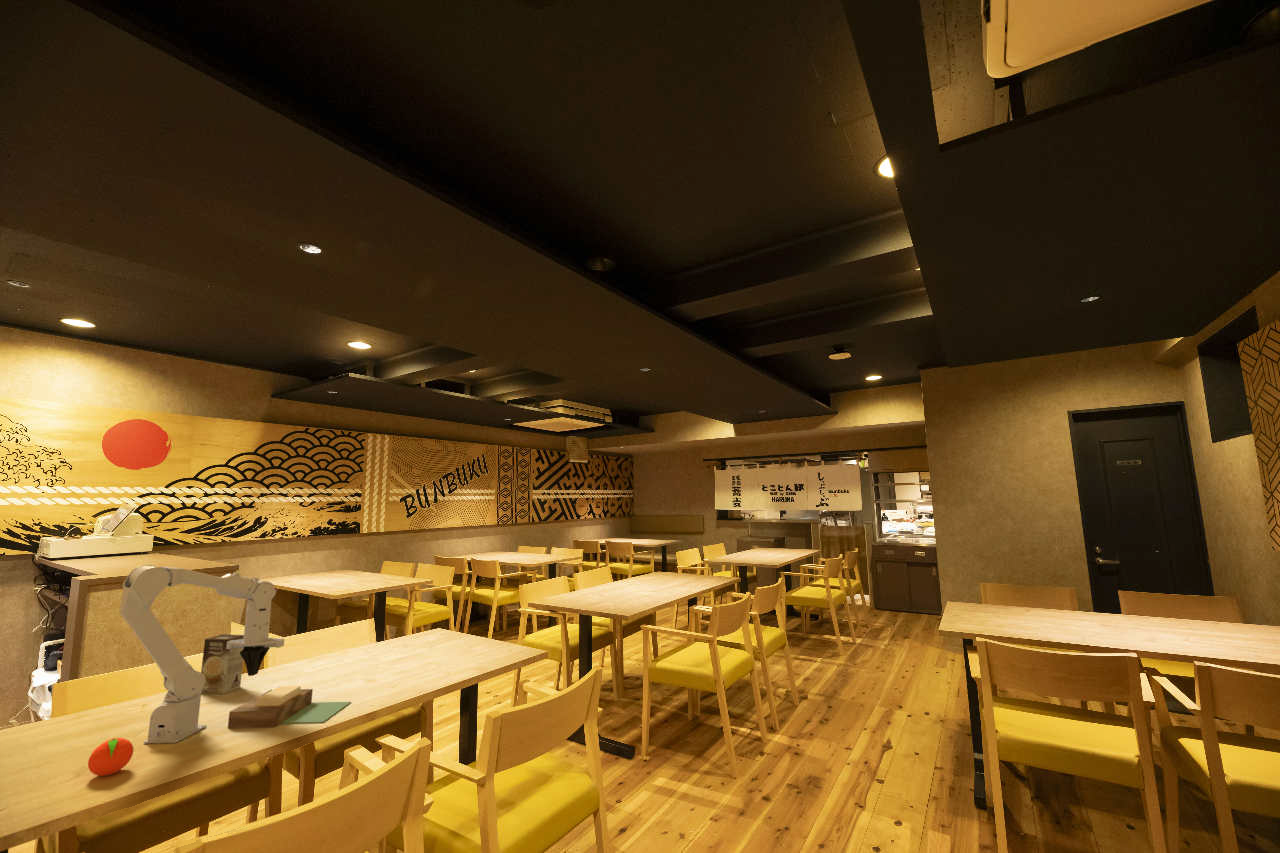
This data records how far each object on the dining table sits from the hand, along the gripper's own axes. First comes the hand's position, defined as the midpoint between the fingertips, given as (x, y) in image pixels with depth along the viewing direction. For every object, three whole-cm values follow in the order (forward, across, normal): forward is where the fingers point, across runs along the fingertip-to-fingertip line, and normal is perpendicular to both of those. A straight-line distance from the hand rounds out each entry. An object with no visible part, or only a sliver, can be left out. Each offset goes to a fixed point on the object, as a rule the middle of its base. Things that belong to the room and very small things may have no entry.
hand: (252, 674), depth 144 cm
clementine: (+10, +8, +32) cm, 34 cm away
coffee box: (+11, +23, -20) cm, 32 cm away
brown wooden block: (+10, -7, +1) cm, 12 cm away
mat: (+10, -19, 0) cm, 21 cm away
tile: (+6, -8, +1) cm, 11 cm away
